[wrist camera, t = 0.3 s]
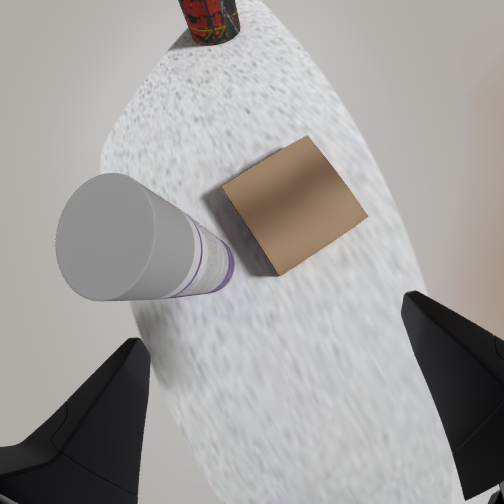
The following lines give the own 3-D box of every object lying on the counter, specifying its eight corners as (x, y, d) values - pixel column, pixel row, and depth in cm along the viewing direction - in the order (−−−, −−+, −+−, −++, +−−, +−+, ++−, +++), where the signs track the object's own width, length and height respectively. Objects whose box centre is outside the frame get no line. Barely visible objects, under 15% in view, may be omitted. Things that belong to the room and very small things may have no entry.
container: (170, 272, 24) (38, 253, 9) (200, 226, 24) (97, 149, 9) (213, 304, 23) (111, 334, 8) (246, 257, 23) (188, 211, 8)
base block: (359, 223, 23) (368, 216, 20) (279, 276, 23) (279, 275, 20) (305, 148, 24) (307, 135, 21) (227, 196, 24) (221, 186, 21)
